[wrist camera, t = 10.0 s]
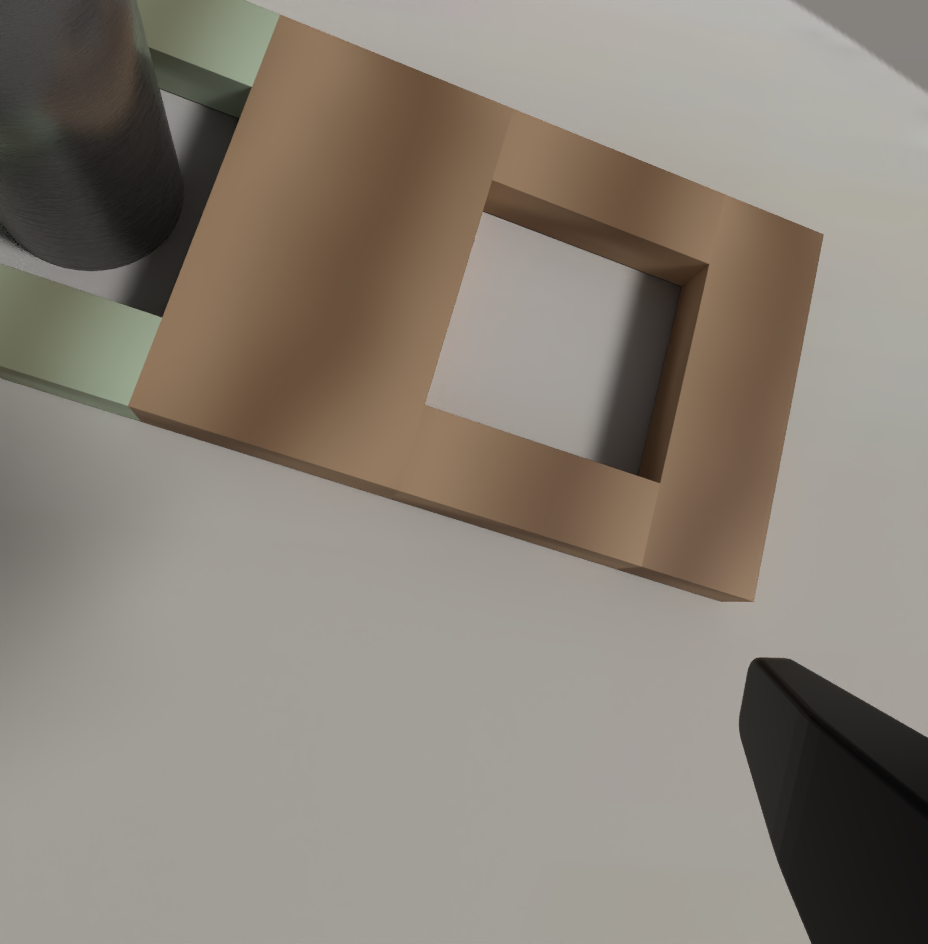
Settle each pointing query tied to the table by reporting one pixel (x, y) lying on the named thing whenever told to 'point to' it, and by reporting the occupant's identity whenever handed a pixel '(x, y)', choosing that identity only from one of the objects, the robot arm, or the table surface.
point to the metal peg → (83, 134)
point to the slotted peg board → (432, 303)
